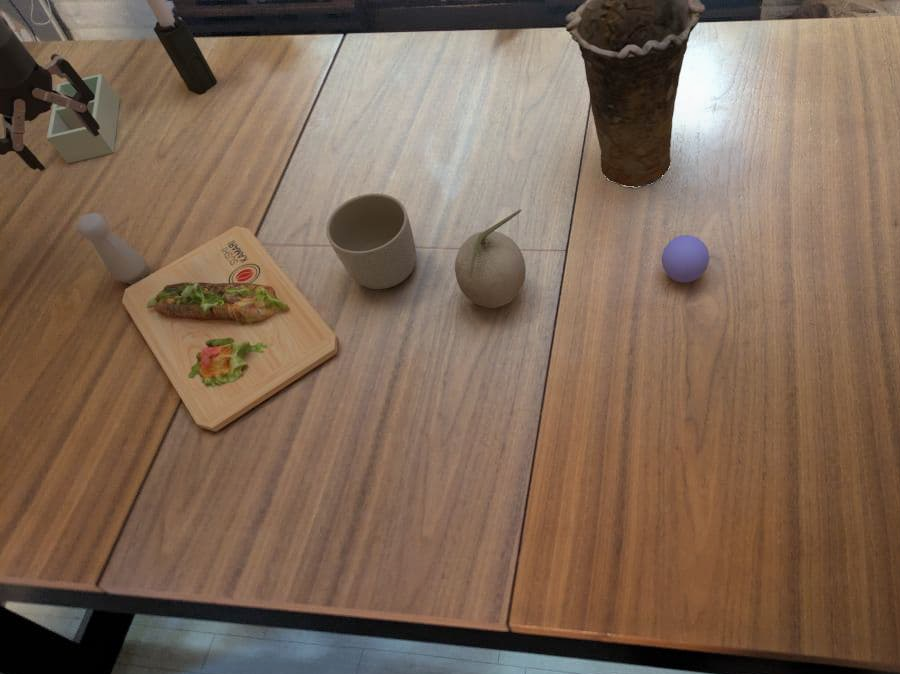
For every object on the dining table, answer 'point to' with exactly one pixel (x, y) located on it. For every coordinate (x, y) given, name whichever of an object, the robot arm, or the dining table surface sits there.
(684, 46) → the vase
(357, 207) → the planter
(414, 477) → the dining table surface
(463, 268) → the fruit
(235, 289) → the cutting board
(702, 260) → the sphere
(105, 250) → the salt shaker
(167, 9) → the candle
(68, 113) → the box
